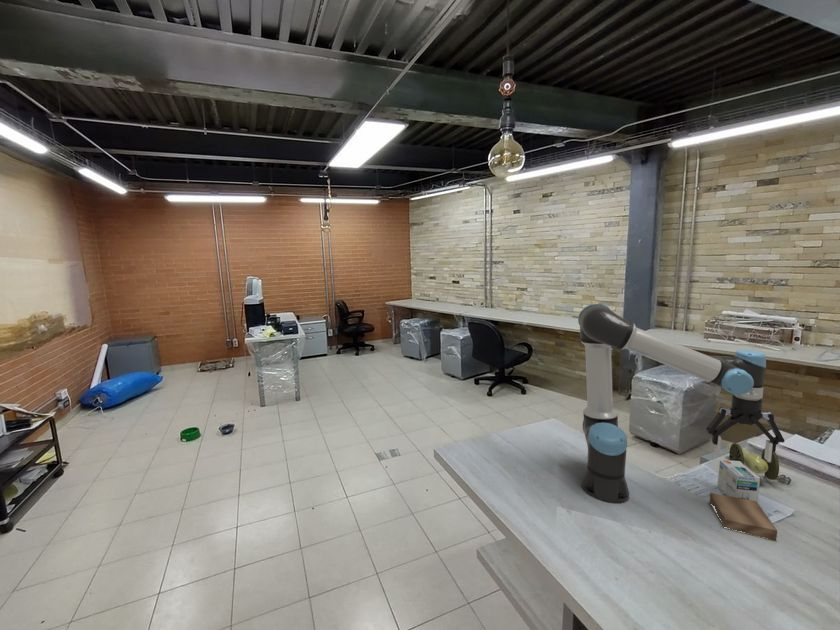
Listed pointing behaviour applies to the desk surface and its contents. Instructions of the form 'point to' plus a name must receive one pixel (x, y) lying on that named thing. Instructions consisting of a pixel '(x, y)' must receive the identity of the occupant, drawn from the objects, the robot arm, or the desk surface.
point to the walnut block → (743, 516)
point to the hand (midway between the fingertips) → (741, 456)
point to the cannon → (755, 461)
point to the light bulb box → (738, 480)
